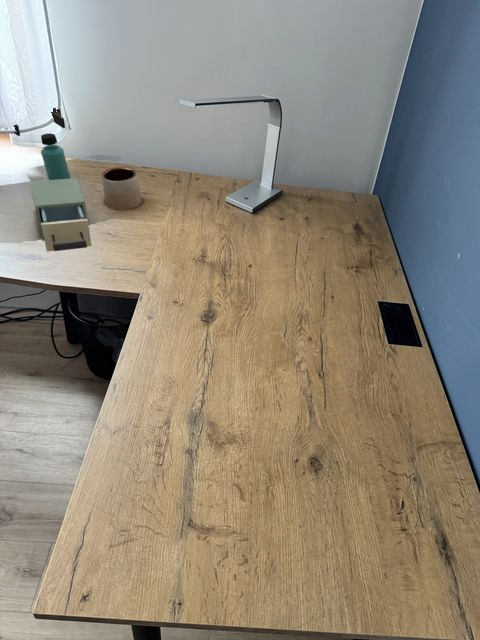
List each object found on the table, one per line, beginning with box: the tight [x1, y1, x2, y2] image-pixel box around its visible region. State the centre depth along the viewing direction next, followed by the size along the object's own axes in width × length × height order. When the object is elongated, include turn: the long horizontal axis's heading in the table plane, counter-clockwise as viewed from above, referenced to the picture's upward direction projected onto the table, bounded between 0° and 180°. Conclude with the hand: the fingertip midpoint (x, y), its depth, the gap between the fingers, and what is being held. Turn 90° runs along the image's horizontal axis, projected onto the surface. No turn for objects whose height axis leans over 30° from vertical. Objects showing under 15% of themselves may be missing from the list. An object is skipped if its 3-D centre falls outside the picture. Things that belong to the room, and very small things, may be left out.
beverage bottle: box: [40, 133, 72, 180], centre depth 149 cm, size 6×7×20 cm
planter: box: [100, 166, 142, 210], centre depth 155 cm, size 11×11×10 cm
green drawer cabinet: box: [29, 177, 88, 242], centre depth 142 cm, size 15×13×11 cm
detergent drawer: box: [41, 205, 92, 253], centre depth 134 cm, size 20×11×9 cm, turn 23°
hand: (41, 127), depth 146 cm, fingers open, 13 cm apart
